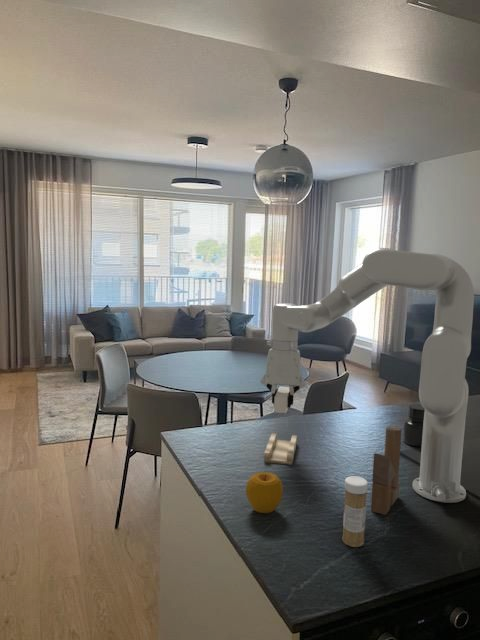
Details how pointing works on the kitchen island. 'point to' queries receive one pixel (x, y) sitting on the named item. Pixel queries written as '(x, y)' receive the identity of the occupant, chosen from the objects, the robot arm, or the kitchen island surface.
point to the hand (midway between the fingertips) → (282, 405)
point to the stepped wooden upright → (386, 473)
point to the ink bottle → (414, 425)
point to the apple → (264, 492)
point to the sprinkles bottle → (354, 511)
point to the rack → (280, 450)
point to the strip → (281, 400)
